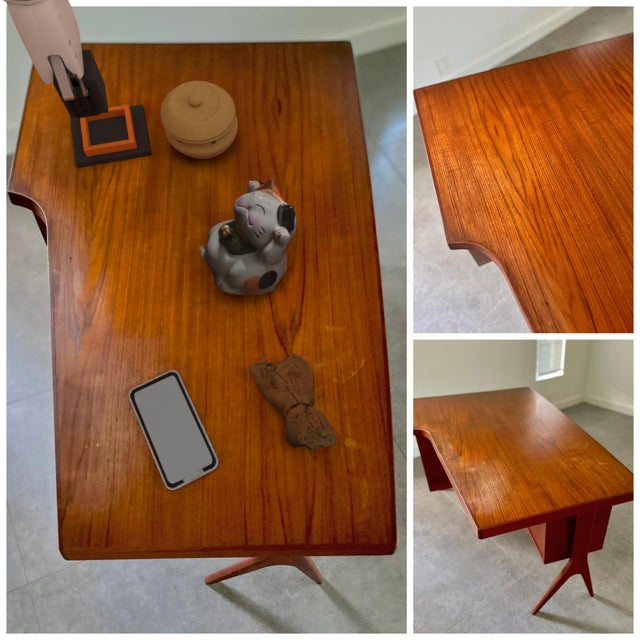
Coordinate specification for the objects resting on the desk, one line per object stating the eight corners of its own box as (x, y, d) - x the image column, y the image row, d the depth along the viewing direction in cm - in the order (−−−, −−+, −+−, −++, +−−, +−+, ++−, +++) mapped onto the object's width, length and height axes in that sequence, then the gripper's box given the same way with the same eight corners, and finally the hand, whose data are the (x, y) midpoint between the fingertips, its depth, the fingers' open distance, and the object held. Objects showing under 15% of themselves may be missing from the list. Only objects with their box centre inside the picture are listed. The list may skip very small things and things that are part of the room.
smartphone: (176, 367, 74) (221, 465, 69) (177, 369, 75) (221, 466, 70) (125, 391, 73) (167, 493, 68) (127, 393, 73) (169, 493, 69)
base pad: (77, 168, 86) (71, 158, 84) (72, 120, 90) (66, 109, 88) (151, 155, 88) (148, 144, 86) (143, 108, 91) (139, 97, 89)
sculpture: (291, 453, 60) (263, 333, 66) (269, 471, 69) (246, 364, 75) (355, 440, 64) (323, 327, 69) (326, 459, 72) (300, 357, 78)
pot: (237, 171, 87) (230, 128, 78) (165, 168, 87) (149, 125, 78) (242, 114, 92) (236, 68, 82) (174, 111, 91) (160, 64, 82)
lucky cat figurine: (193, 234, 83) (211, 156, 73) (265, 238, 88) (290, 166, 79) (213, 304, 74) (236, 225, 65) (292, 304, 80) (323, 231, 70)
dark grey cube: (70, 117, 72) (53, 84, 66) (67, 88, 73) (49, 53, 68) (108, 112, 72) (94, 79, 67) (104, 83, 74) (90, 48, 68)
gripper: (-17, -82, 58) (54, 56, 75) (-14, 31, 52) (62, 153, 69) (54, -90, 59) (108, 48, 76) (65, 20, 53) (121, 143, 70)
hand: (86, 97), depth 72 cm, fingers closed on dark grey cube, 5 cm apart
